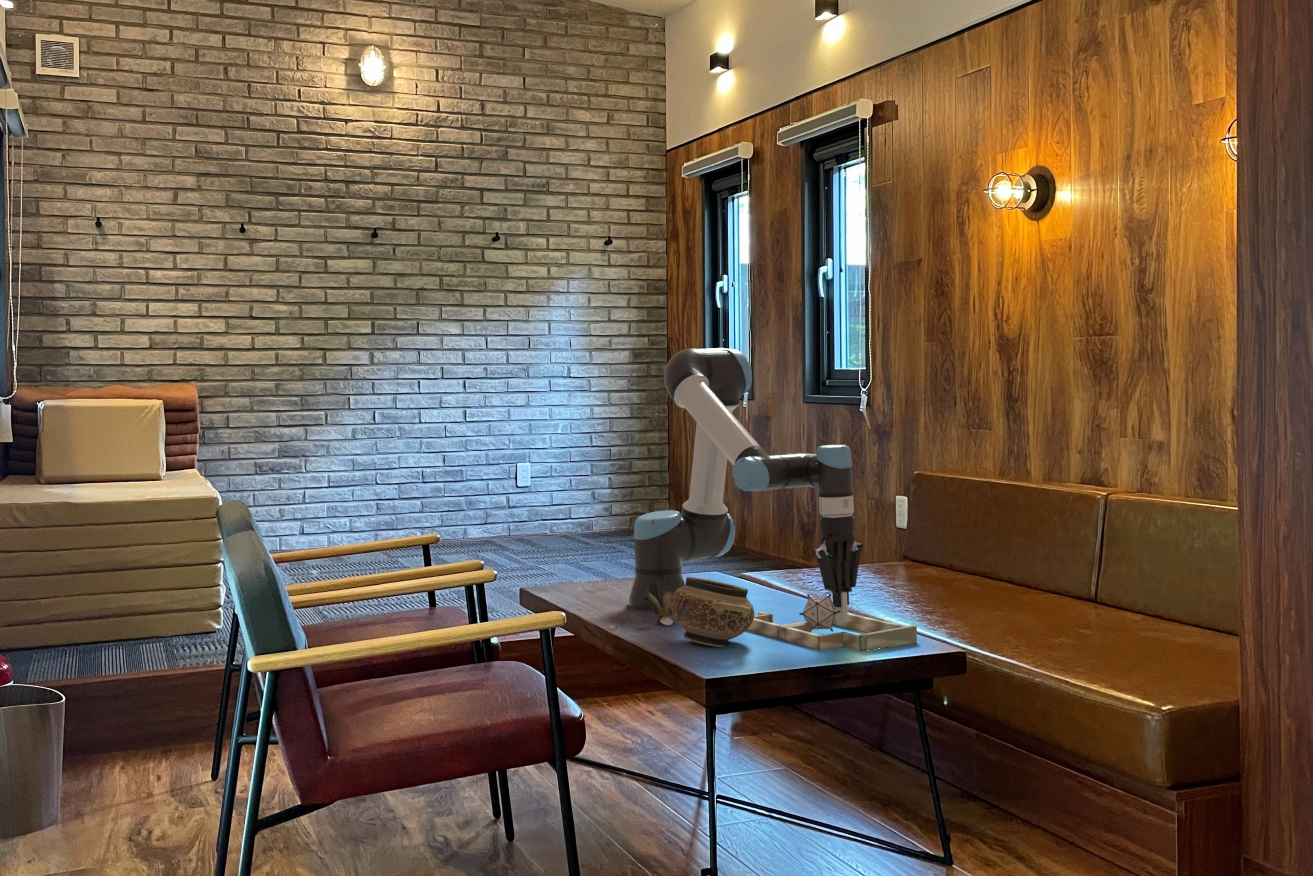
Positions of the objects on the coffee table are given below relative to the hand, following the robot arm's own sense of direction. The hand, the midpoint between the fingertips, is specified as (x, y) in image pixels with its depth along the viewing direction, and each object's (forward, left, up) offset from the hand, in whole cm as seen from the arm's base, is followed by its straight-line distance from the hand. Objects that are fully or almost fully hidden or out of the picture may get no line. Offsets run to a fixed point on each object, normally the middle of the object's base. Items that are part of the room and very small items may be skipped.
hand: (841, 620), depth 270 cm
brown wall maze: (-1, -1, -3) cm, 3 cm away
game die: (-3, -2, -1) cm, 4 cm away
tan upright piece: (-31, -27, -3) cm, 41 cm away
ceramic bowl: (-7, -30, -3) cm, 31 cm away
